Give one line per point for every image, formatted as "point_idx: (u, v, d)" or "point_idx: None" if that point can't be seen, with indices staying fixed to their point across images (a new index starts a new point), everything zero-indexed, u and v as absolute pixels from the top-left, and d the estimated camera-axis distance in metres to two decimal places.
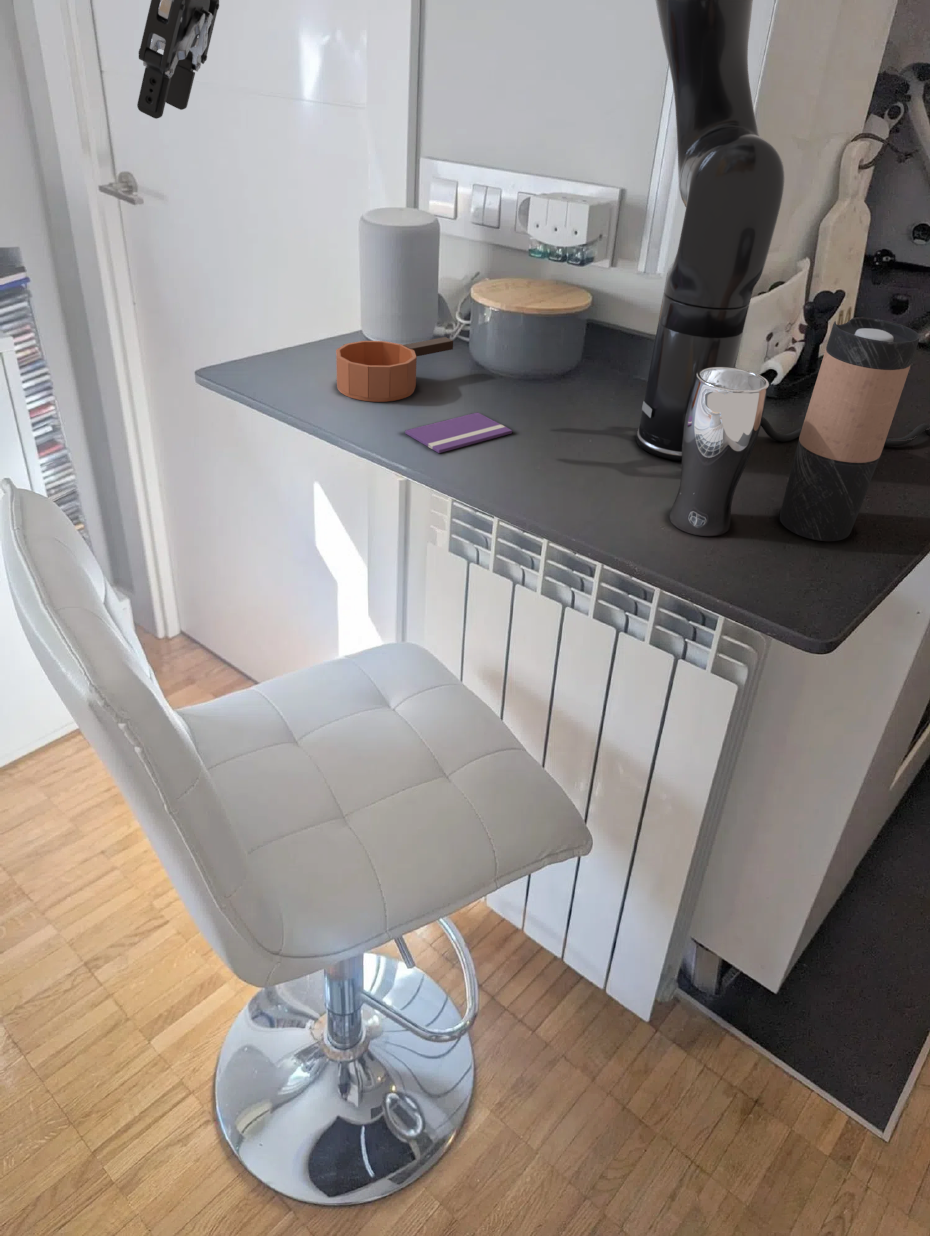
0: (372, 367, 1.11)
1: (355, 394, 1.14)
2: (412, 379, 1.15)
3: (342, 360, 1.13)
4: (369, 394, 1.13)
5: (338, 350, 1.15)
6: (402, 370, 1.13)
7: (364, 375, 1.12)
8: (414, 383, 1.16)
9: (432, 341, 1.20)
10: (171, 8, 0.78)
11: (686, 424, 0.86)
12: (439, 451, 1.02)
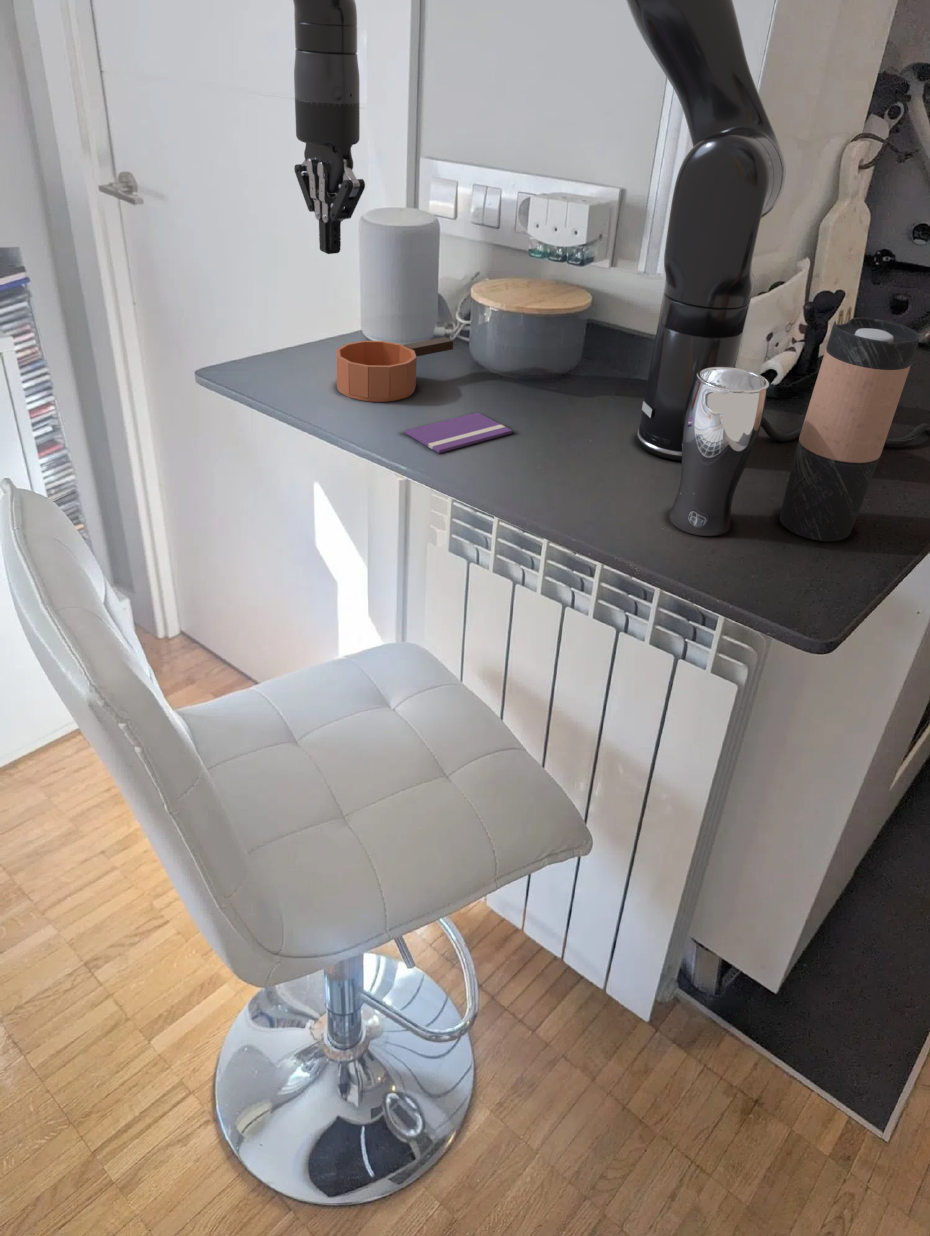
0: (372, 367, 1.11)
1: (355, 394, 1.14)
2: (412, 379, 1.15)
3: (342, 360, 1.13)
4: (369, 394, 1.13)
5: (338, 350, 1.15)
6: (402, 370, 1.13)
7: (364, 375, 1.12)
8: (414, 383, 1.16)
9: (432, 341, 1.20)
10: (358, 191, 1.08)
11: (686, 424, 0.86)
12: (439, 451, 1.02)
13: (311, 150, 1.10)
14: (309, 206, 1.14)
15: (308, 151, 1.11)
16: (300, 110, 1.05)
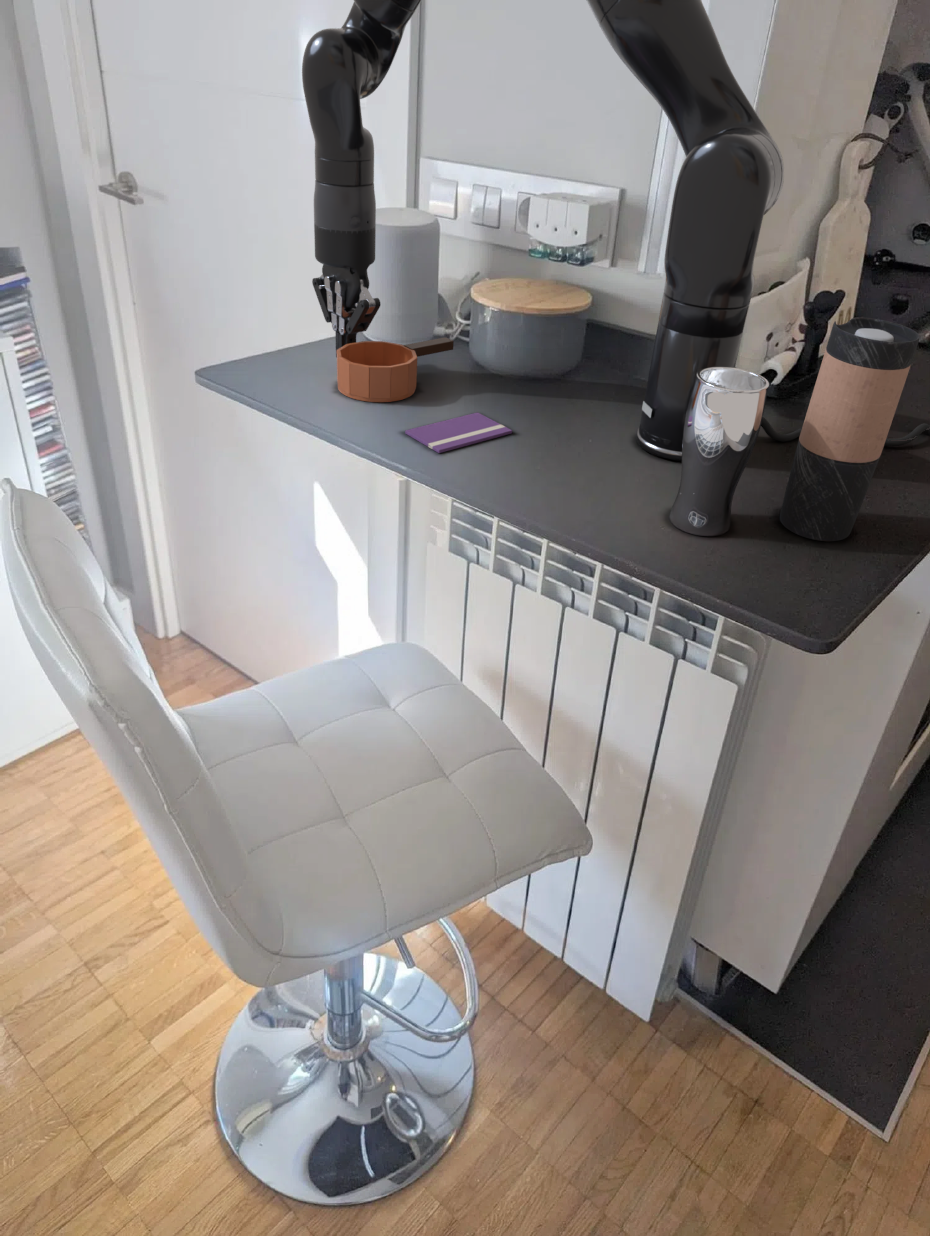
0: (373, 368, 1.11)
1: (356, 394, 1.13)
2: (413, 379, 1.15)
3: (343, 360, 1.12)
4: (370, 394, 1.13)
5: (339, 350, 1.15)
6: (403, 370, 1.13)
7: (365, 375, 1.12)
8: (415, 383, 1.16)
9: (433, 341, 1.20)
10: (374, 309, 1.14)
11: (686, 424, 0.86)
12: (439, 451, 1.02)
13: (329, 268, 1.16)
14: (326, 317, 1.19)
15: (326, 268, 1.16)
16: (319, 236, 1.10)
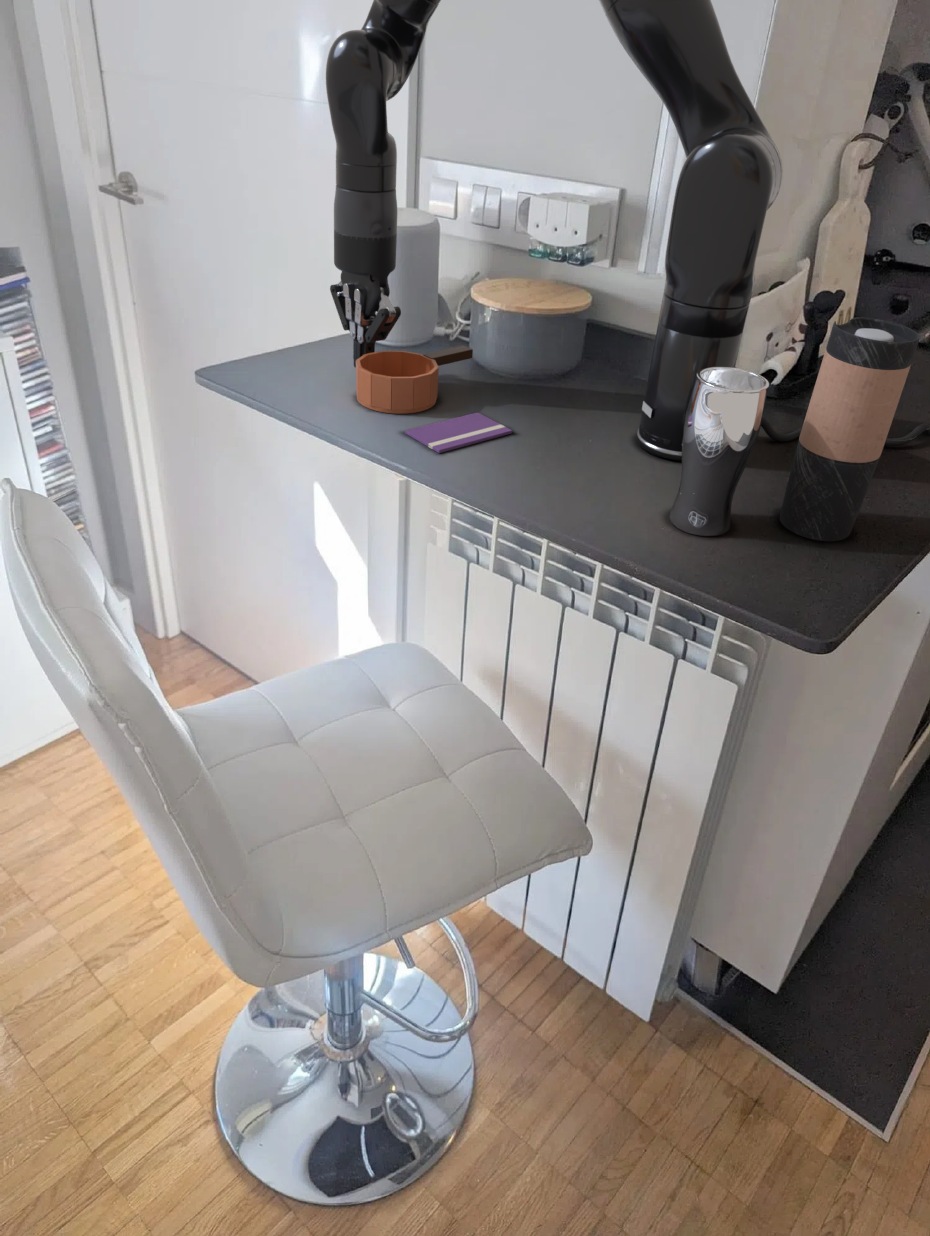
0: (395, 378, 1.08)
1: (377, 406, 1.11)
2: (434, 390, 1.13)
3: (364, 371, 1.10)
4: (392, 406, 1.10)
5: (358, 361, 1.12)
6: (425, 381, 1.10)
7: (387, 387, 1.09)
8: (436, 394, 1.14)
9: (452, 350, 1.17)
10: (394, 318, 1.11)
11: (686, 424, 0.86)
12: (439, 451, 1.02)
13: (348, 275, 1.13)
14: (344, 325, 1.16)
15: (345, 275, 1.13)
16: (339, 242, 1.07)
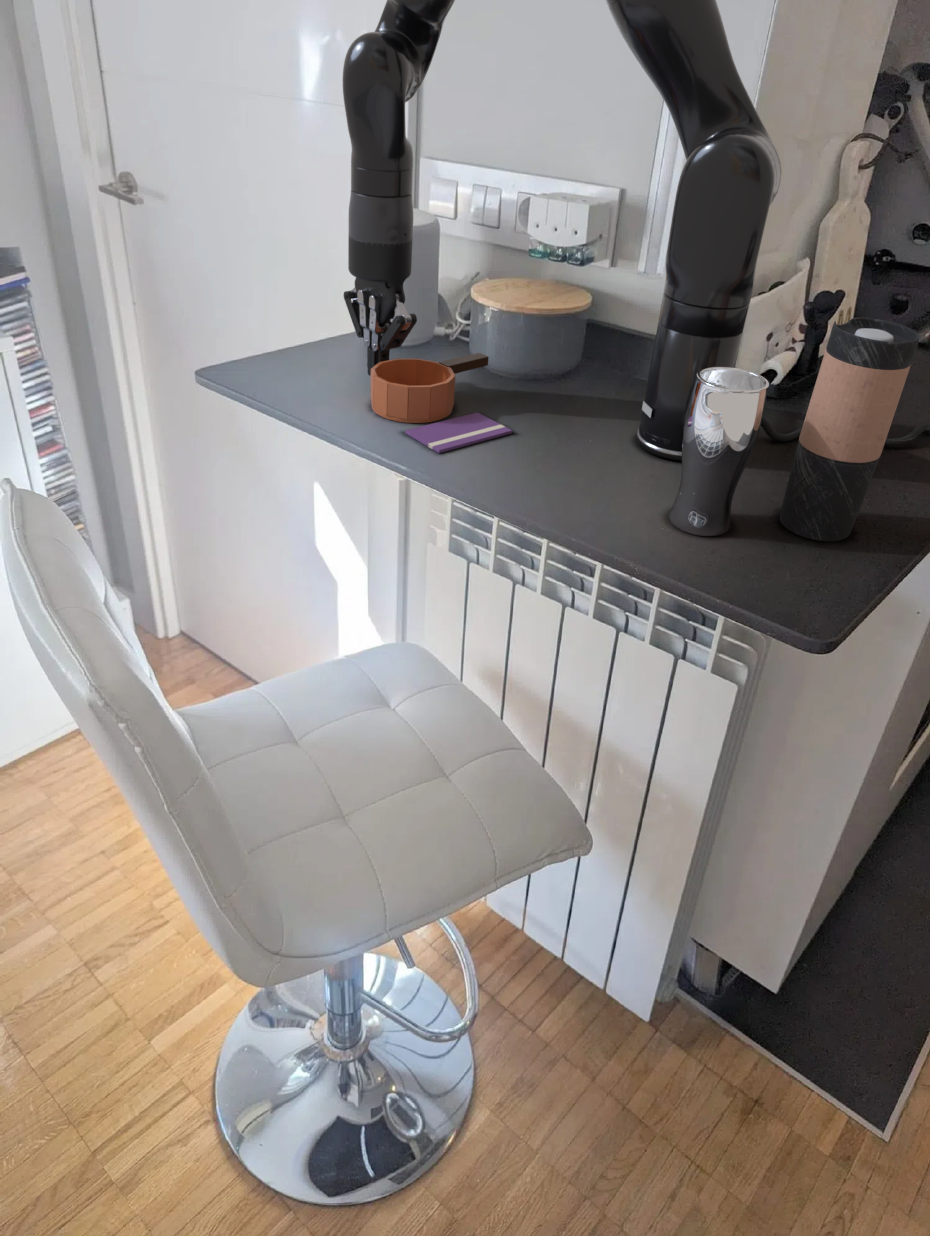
0: (412, 387, 1.06)
1: (393, 415, 1.09)
2: (451, 398, 1.11)
3: (379, 380, 1.07)
4: (408, 415, 1.08)
5: (373, 369, 1.10)
6: (442, 389, 1.08)
7: (404, 396, 1.07)
8: (452, 402, 1.12)
9: (467, 357, 1.15)
10: (410, 325, 1.09)
11: (686, 424, 0.86)
12: (439, 451, 1.02)
13: (362, 281, 1.10)
14: (358, 333, 1.14)
15: (359, 281, 1.11)
16: (354, 248, 1.05)
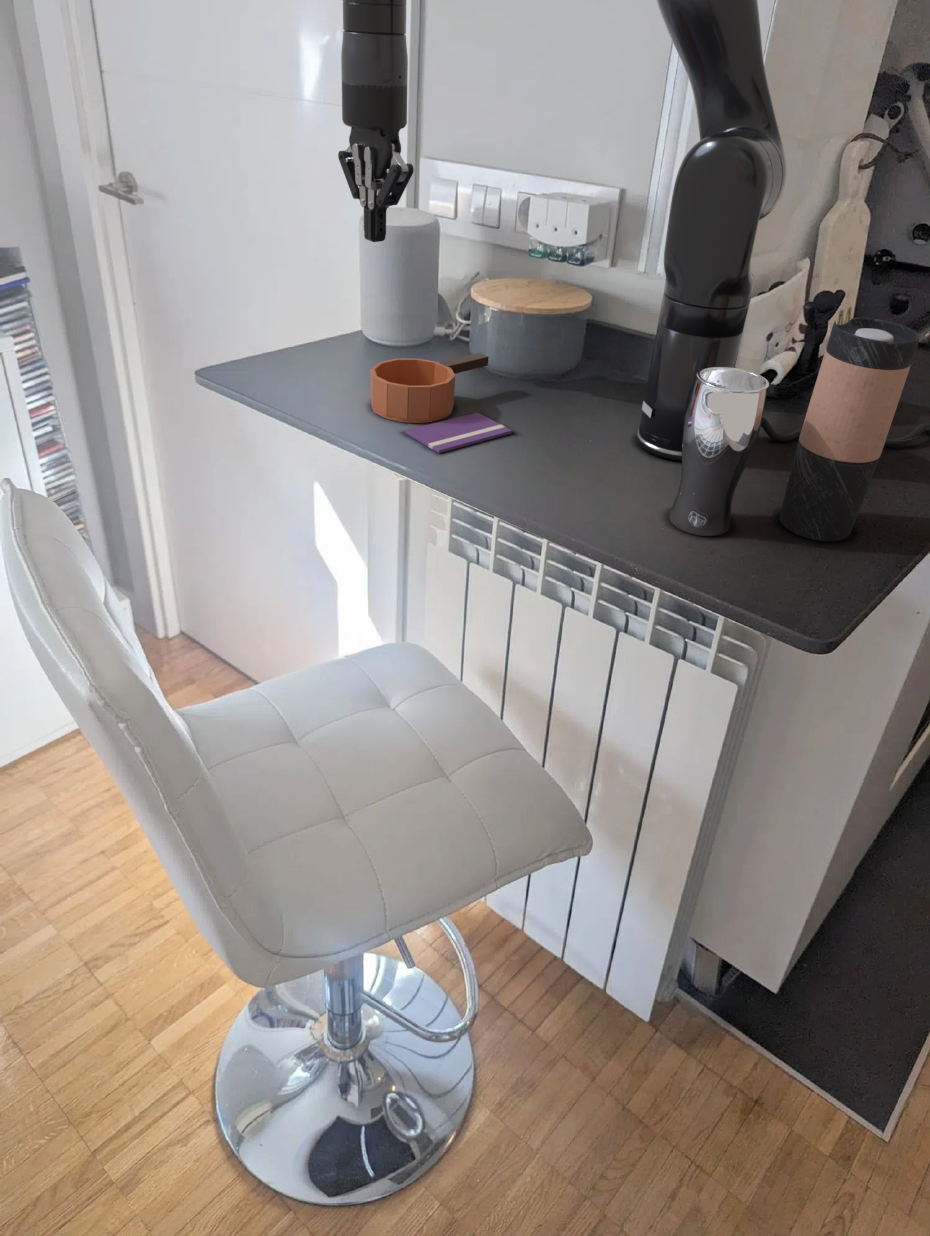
0: (412, 387, 1.06)
1: (393, 415, 1.09)
2: (451, 398, 1.11)
3: (379, 380, 1.07)
4: (408, 415, 1.08)
5: (373, 369, 1.10)
6: (442, 389, 1.08)
7: (404, 396, 1.07)
8: (452, 402, 1.12)
9: (467, 357, 1.15)
10: (406, 176, 1.06)
11: (686, 424, 0.86)
12: (439, 451, 1.02)
13: (357, 135, 1.08)
14: (354, 193, 1.11)
15: (353, 136, 1.08)
16: (348, 93, 1.02)
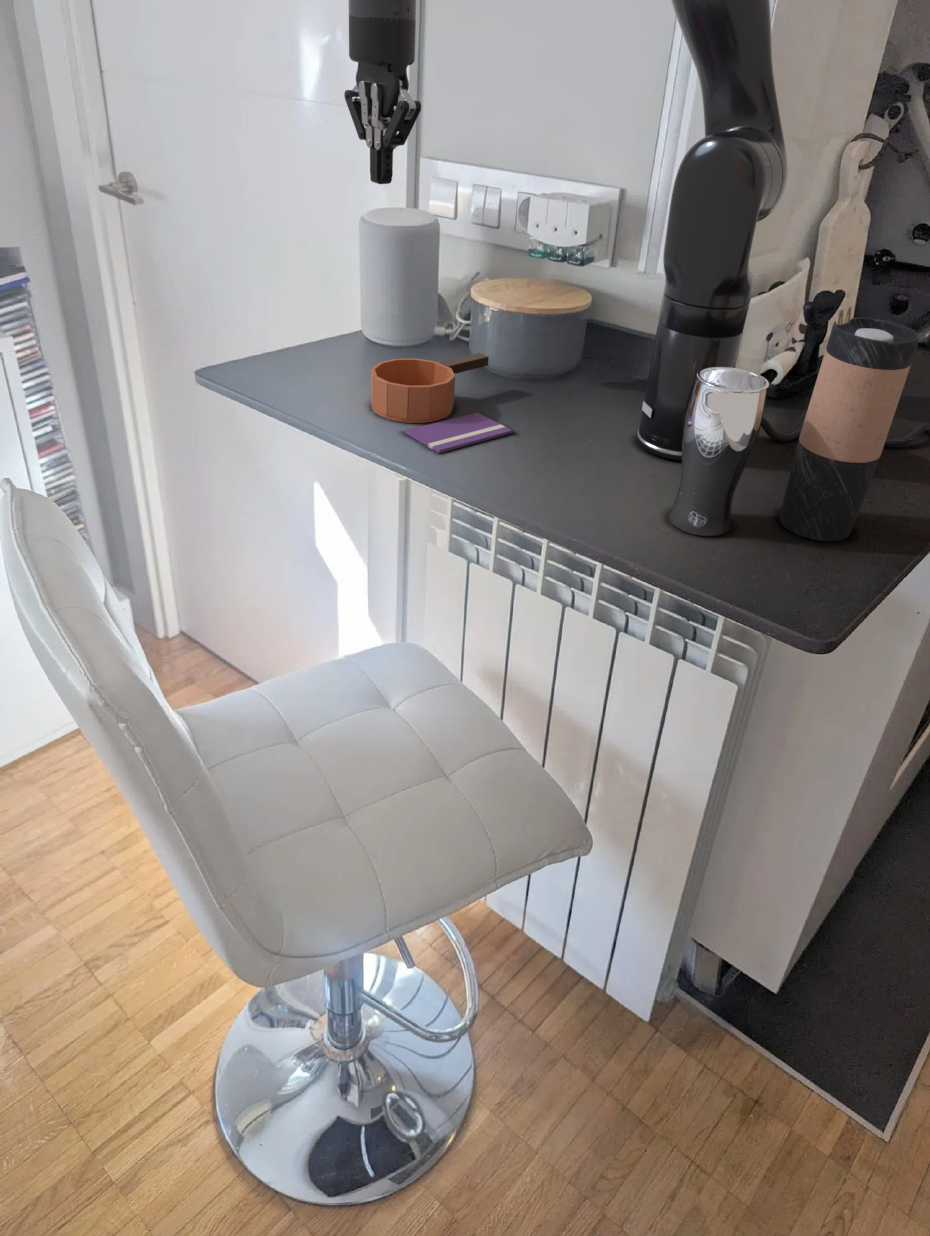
0: (412, 387, 1.06)
1: (393, 415, 1.09)
2: (451, 398, 1.11)
3: (379, 380, 1.07)
4: (408, 415, 1.08)
5: (373, 369, 1.10)
6: (442, 389, 1.08)
7: (404, 396, 1.07)
8: (452, 402, 1.12)
9: (467, 357, 1.15)
10: (414, 114, 1.04)
11: (686, 424, 0.86)
12: (439, 451, 1.02)
13: (364, 72, 1.06)
14: (360, 134, 1.09)
15: (360, 74, 1.06)
16: (355, 26, 1.00)
